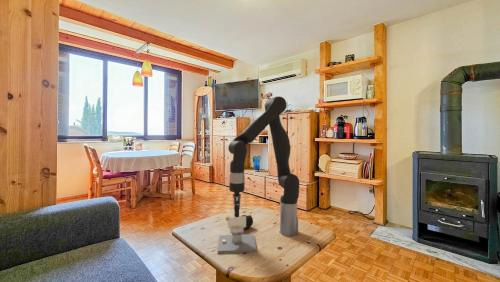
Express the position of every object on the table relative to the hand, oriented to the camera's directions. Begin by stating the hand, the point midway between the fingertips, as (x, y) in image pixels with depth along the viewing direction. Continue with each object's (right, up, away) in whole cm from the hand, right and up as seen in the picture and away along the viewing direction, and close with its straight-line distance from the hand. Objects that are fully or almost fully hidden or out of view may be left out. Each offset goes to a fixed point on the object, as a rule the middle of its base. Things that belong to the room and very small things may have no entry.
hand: (236, 213), depth 111 cm
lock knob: (0, -9, 0) cm, 9 cm away
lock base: (0, -15, 0) cm, 15 cm away
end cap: (+3, -15, +20) cm, 25 cm away
